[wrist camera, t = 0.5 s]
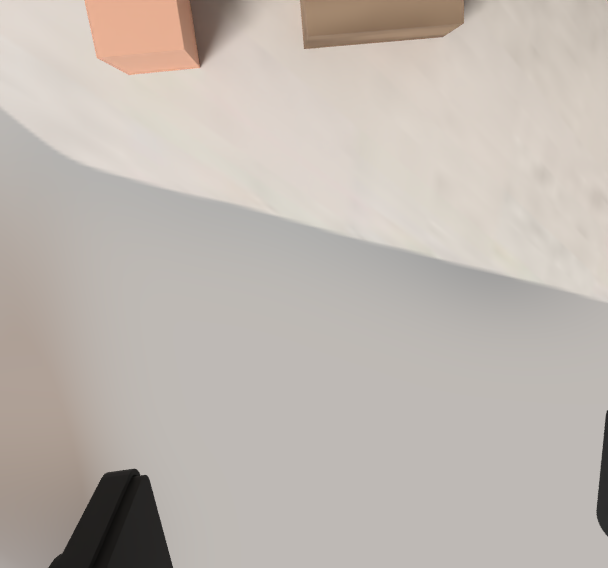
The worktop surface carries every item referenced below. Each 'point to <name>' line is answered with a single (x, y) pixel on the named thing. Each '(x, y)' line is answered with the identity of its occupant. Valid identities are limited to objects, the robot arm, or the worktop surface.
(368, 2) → the walnut base
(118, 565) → the robot arm
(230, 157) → the worktop surface
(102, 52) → the salmon pink block
